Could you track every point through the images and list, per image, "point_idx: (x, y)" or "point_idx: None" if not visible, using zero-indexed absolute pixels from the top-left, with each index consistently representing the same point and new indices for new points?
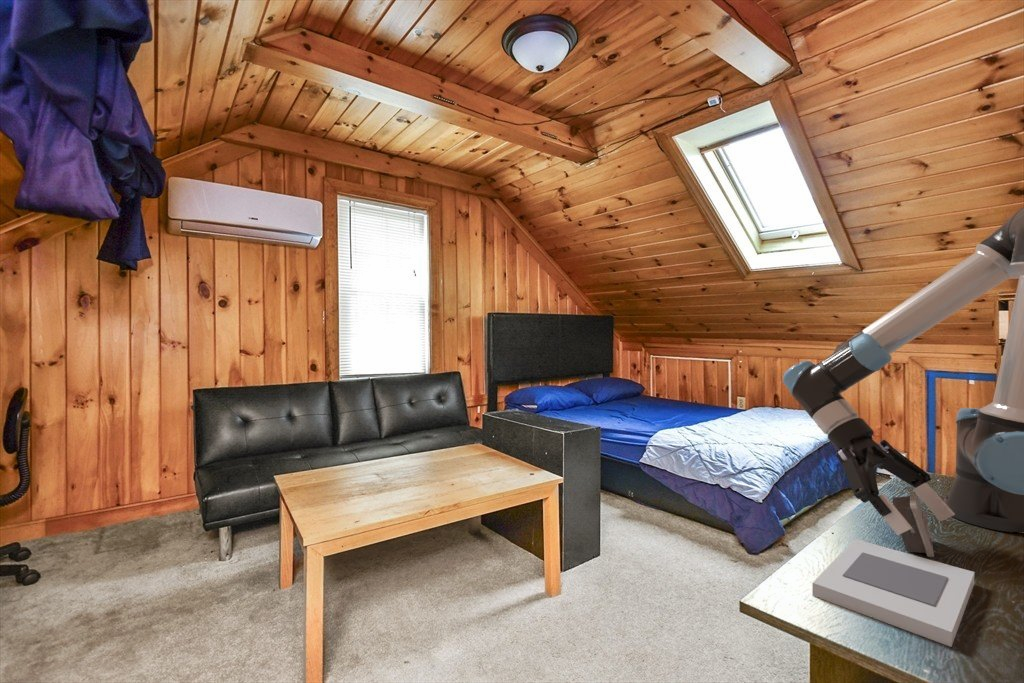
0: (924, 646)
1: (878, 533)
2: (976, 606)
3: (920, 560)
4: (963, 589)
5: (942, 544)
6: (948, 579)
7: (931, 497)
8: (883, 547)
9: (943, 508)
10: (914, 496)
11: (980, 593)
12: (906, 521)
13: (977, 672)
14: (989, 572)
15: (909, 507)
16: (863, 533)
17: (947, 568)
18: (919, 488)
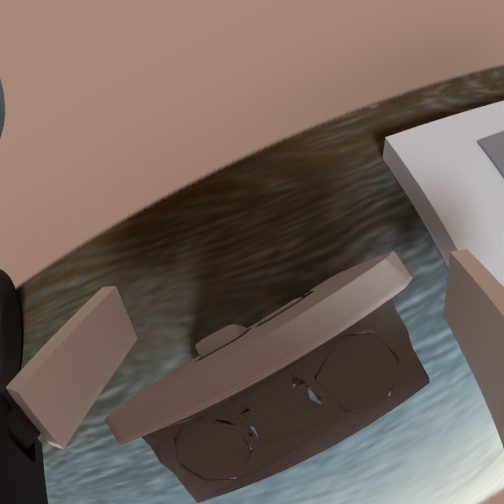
0: None
1: (295, 477)
2: None
3: (468, 219)
4: (480, 113)
5: (191, 334)
6: (479, 140)
7: (72, 362)
8: None
9: (102, 317)
10: (200, 377)
11: None
12: (467, 265)
13: None
14: (275, 183)
15: (376, 314)
16: (347, 495)
17: (435, 168)
18: (49, 417)
